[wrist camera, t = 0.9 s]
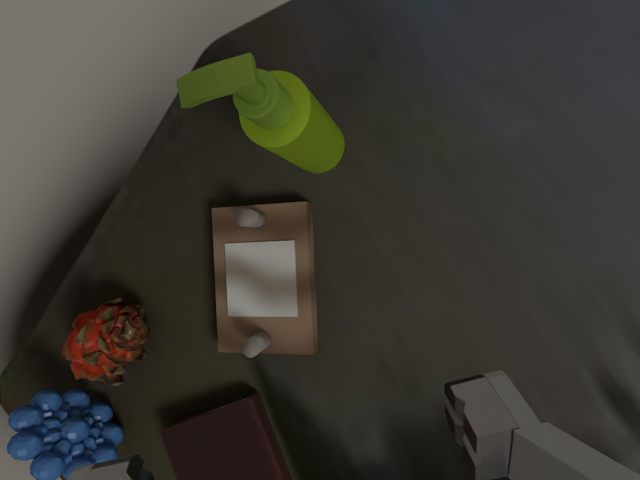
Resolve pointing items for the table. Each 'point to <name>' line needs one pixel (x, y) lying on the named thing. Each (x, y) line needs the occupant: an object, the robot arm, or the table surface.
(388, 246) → the table surface
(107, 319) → the dragon fruit
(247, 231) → the pin seat
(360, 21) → the table surface
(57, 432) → the grapes
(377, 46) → the table surface
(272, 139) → the soap dispenser
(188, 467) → the book
